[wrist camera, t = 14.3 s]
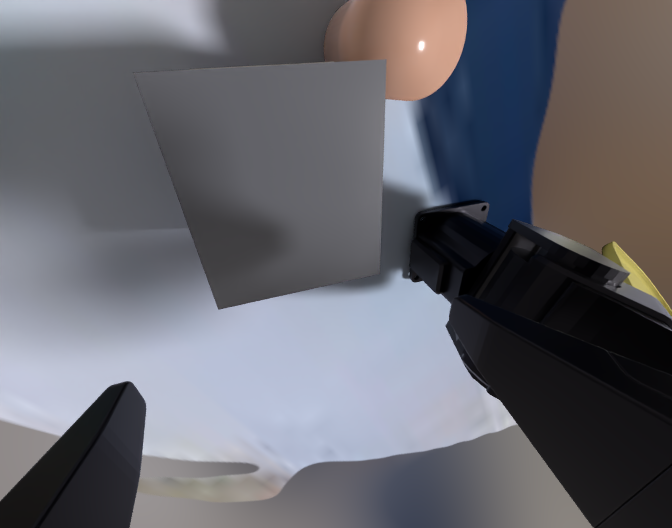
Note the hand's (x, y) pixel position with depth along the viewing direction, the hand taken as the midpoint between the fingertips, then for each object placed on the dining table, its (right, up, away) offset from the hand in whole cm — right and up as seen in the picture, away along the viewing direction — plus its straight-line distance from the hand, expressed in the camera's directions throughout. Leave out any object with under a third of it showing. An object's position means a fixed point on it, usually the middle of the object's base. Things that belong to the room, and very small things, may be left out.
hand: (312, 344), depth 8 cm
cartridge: (+2, +14, +8) cm, 16 cm away
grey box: (-3, +9, +9) cm, 13 cm away
